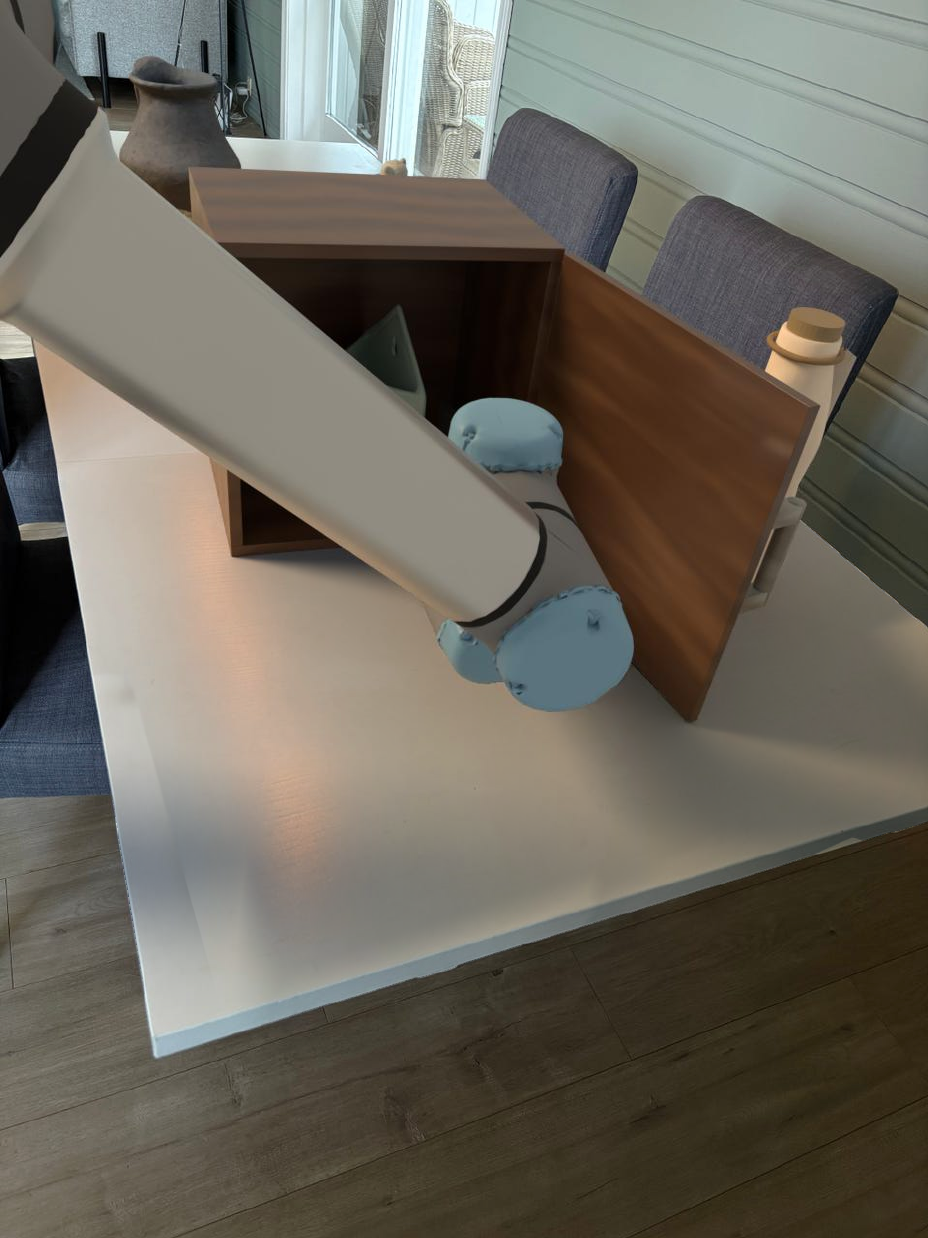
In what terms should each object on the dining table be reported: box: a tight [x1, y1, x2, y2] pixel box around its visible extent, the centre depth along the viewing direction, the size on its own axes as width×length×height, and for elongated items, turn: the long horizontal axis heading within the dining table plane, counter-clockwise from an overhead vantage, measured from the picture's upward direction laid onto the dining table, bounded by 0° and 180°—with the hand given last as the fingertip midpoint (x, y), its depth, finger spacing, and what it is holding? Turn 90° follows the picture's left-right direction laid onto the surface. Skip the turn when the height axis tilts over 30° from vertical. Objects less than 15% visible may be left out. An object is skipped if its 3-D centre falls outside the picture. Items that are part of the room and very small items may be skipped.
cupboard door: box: [537, 252, 820, 723], centre depth 82 cm, size 7×30×30 cm, turn 28°
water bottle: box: [751, 306, 858, 583], centre depth 91 cm, size 10×9×28 cm
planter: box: [345, 304, 426, 418], centre depth 96 cm, size 16×8×20 cm, turn 25°
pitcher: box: [118, 55, 242, 213], centre depth 161 cm, size 21×22×25 cm
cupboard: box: [189, 167, 566, 557], centre depth 94 cm, size 22×30×30 cm
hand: (375, 412), depth 90 cm, fingers open, 13 cm apart
